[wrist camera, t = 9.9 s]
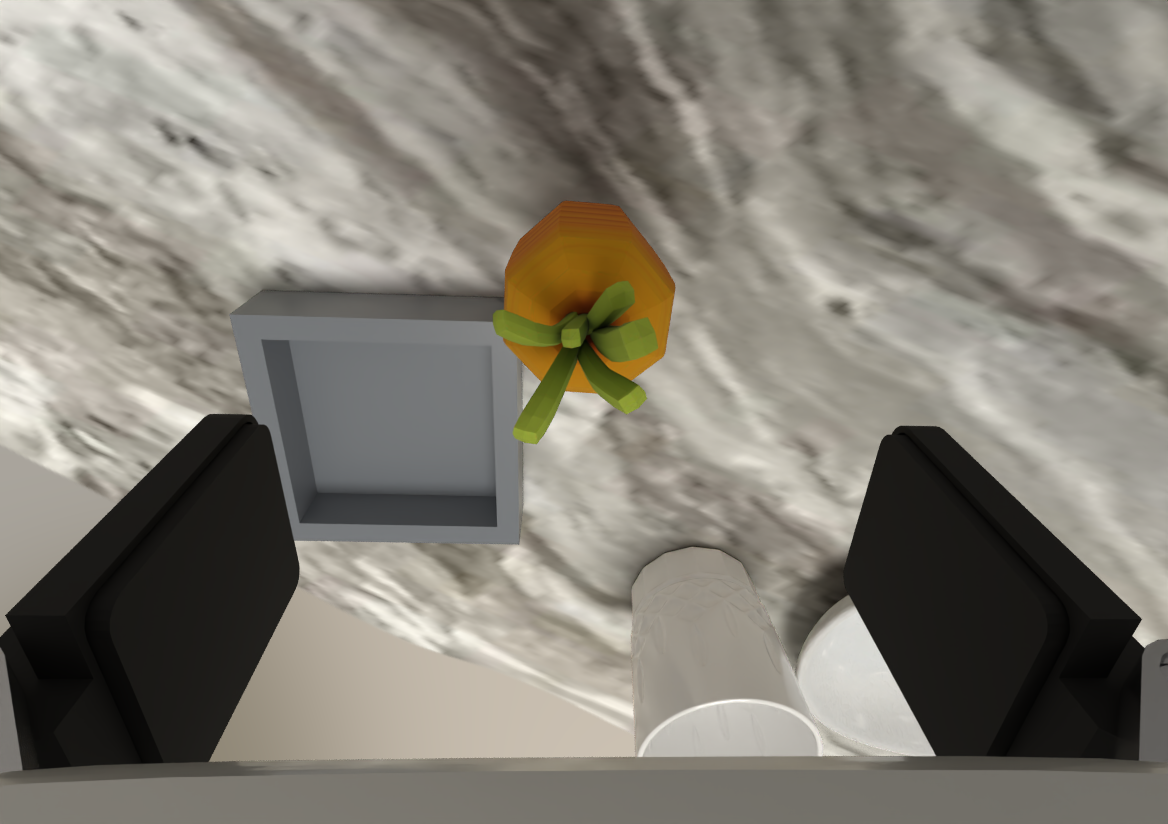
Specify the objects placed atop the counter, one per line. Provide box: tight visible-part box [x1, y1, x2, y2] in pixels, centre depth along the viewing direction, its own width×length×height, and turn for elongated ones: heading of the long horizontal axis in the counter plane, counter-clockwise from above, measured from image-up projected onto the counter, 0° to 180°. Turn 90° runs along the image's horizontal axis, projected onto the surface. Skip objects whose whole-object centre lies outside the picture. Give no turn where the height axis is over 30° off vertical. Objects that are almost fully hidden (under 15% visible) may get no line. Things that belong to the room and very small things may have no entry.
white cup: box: [631, 547, 824, 757], centre depth 32 cm, size 8×8×10 cm
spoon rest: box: [795, 595, 936, 756], centre depth 36 cm, size 24×12×7 cm, turn 70°
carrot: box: [493, 201, 675, 444], centre depth 20 cm, size 5×5×15 cm
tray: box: [229, 290, 523, 544], centre depth 29 cm, size 11×11×3 cm
